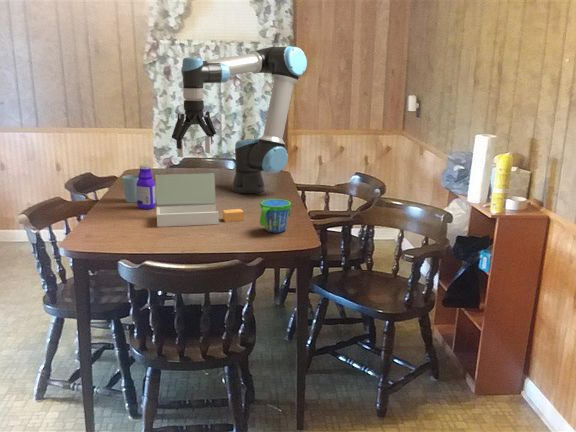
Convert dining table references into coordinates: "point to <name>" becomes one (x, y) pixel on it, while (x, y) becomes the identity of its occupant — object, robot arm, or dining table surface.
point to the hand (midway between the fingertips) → (195, 155)
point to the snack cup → (275, 214)
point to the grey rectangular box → (187, 215)
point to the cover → (185, 189)
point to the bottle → (145, 188)
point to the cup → (130, 187)
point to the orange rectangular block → (233, 215)
